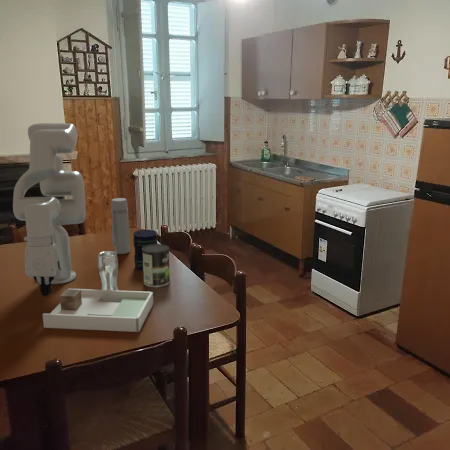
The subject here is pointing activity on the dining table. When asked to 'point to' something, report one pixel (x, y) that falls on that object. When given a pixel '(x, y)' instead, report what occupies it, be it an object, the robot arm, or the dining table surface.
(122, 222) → the water bottle
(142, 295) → the box
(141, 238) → the storage jar
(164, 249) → the coffee can
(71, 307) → the walnut block
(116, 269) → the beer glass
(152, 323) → the dining table surface
